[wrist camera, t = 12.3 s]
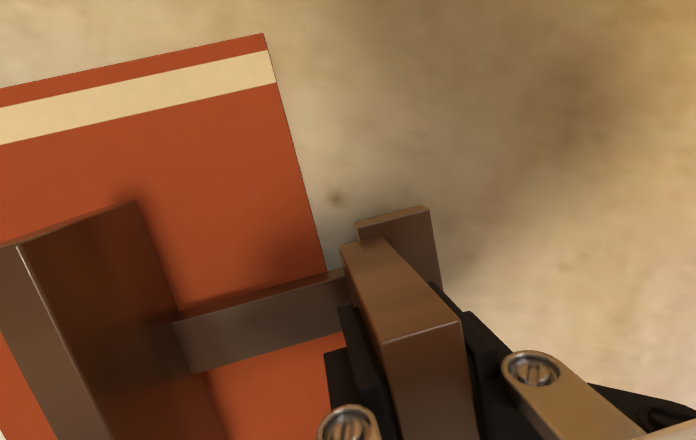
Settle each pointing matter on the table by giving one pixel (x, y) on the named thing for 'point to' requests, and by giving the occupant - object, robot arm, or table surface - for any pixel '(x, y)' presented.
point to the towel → (176, 207)
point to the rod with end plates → (217, 328)
